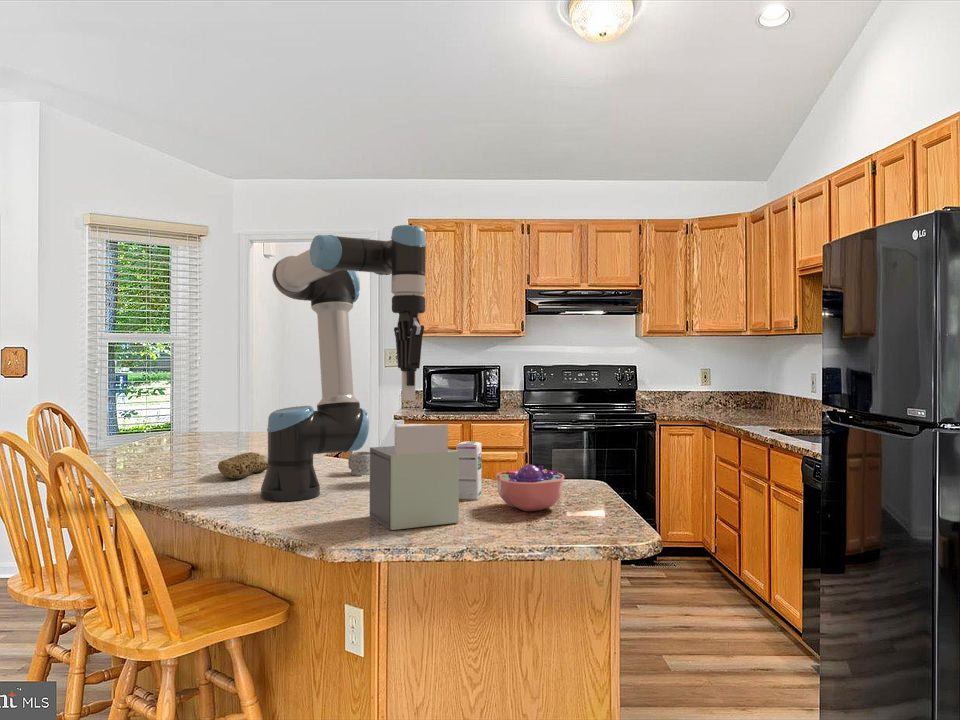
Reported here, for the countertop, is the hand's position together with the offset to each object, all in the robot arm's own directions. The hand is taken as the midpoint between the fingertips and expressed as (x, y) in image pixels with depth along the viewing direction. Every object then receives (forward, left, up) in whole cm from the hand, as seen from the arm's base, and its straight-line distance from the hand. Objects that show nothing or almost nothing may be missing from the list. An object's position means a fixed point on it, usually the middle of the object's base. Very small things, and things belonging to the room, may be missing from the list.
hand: (408, 400), depth 157 cm
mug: (-65, +8, -28) cm, 71 cm away
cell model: (0, +32, -28) cm, 42 cm away
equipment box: (-2, +2, -27) cm, 28 cm away
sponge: (-77, -25, -28) cm, 85 cm away
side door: (+6, +2, -27) cm, 28 cm away
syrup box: (-18, +24, -28) cm, 41 cm away
